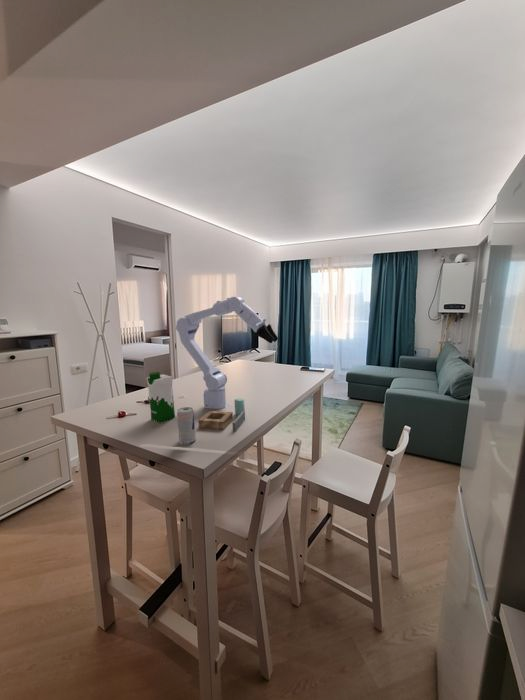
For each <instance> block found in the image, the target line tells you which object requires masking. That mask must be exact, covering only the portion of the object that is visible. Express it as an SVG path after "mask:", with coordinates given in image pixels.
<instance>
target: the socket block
mask: <svg viewBox="0 0 525 700" xmlns="http://www.w3.org/2000/svg"><path fill="white" fill-rule="evenodd" d="M233 413H234V412H233V411H219V410H218V411H217V410H216V411H215V410H208V411H207V412H206V413H205V414H204V415H203V416H201V417H200V418H199V419H198V429H213V430H214V429H215V430H225V429H226V428H227V427H228V426H229V425H230V424H231V422H232V421H234V420H233V419H234V416H233V415H234V414H233Z"/></svg>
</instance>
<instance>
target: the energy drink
mask: <svg viewBox="0 0 525 700" xmlns="http://www.w3.org/2000/svg"><path fill="white" fill-rule="evenodd" d="M176 416H177V417H176V418H177V428H178V430H177V431H178V441H179V444H180V445H183V446H186V445H187V446H188V445H191V444H193V443H195V442H196V441H197V440H196V430H195V429H196V426H195V413H194V409H193V408H192V407H190V406H187V407H186V406H185V407H180V408H179V409H178V408H177V412H176Z"/></svg>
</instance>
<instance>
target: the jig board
mask: <svg viewBox="0 0 525 700" xmlns="http://www.w3.org/2000/svg"><path fill="white" fill-rule="evenodd" d="M245 420H246V411H242V412H241V414H240V415H239V416H237V417H236V418H235V419H234V420H233V422H232V432H234V433H236V431H237V430H238V429H239V428H240V426H241V425H242V424H243V423H244V421H245Z"/></svg>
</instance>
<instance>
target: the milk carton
mask: <svg viewBox="0 0 525 700" xmlns="http://www.w3.org/2000/svg"><path fill="white" fill-rule="evenodd" d="M145 380H146V383H147V388H148V396H149V405H150V407H149V408H150V419H153V420H152V421H154V420H155V421H154V422H156V421H157V422H156V423H158V422H159V424H162V423H161V422H163V423H164V421H166V422H168V421H171V420H173V419H174V418H176V413H175V411H176V410H175V404H174V403H175V401H174V391H173V380H174V377H173V376H171V375H168V374H164V373H163V374H161V372H159V371H153V372H149V377H146V379H145ZM170 419H171V420H170ZM167 420H168V421H167Z"/></svg>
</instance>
